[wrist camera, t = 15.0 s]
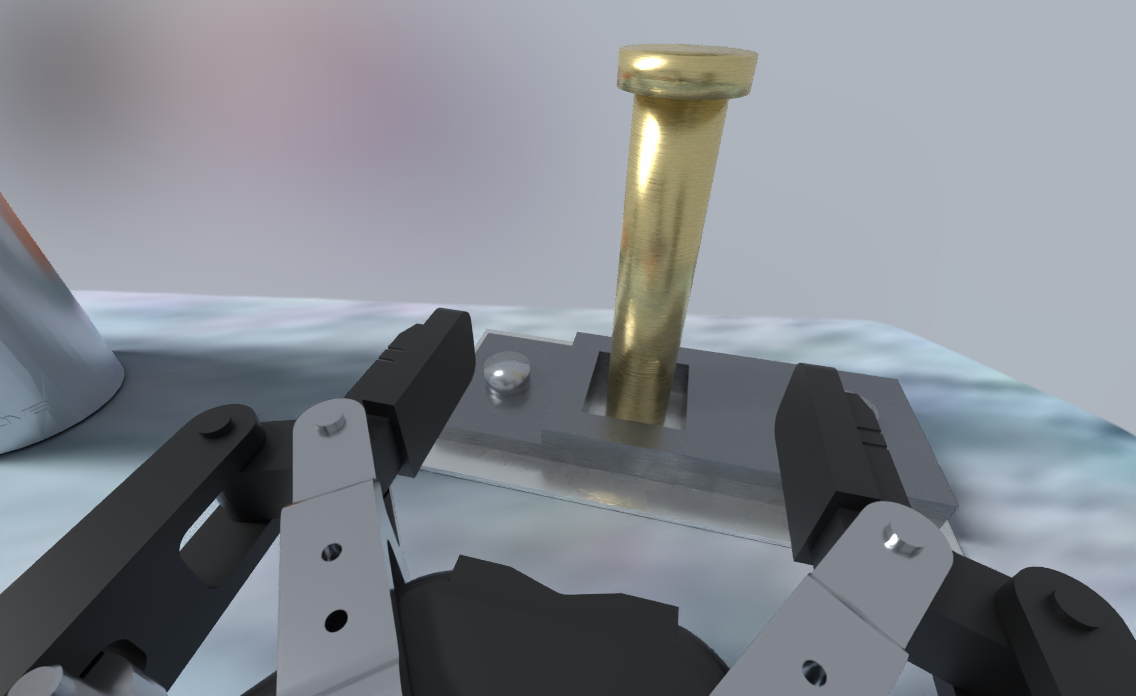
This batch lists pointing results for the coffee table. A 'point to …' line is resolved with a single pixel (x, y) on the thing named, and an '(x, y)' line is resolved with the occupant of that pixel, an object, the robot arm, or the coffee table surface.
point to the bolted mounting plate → (657, 436)
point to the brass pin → (665, 209)
